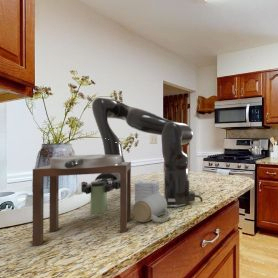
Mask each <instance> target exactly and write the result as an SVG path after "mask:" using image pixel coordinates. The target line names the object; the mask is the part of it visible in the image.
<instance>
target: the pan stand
mask: <svg viewBox="0 0 278 278" xmlns="http://www.w3.org/2000/svg"><path fill="white" fill-rule="evenodd" d="M102 173H120V189H119V190H120V191H119V224H120V225H119V233H127V231H128V222H130V221H131V219H132V162H131V161H125V162H122V156H121V155H105V154H80V155H79V154H78V155H77V154H76V155H63V156H54V157H50V158H49V165H44V166H40V167H36V168H32V247H36V246H41V245H42V244H43V243H44V205H45V203H44V200H45V199H44V195H45V194H44V186H45V185H44V179H45V178H46V177H49V233H51V232H52V233H53V232H57V231H58V230H59V225H60V224H59V219H60V218H59V217H60V216H59V212H60V211H59V201H60V200H59V198H60V197H59V196H60V195H59V191H60V190H59V186H60V185H59V184H60V183H59V182H60V181H59V177H61V176H62V177H63V176H65V177H66V176H81V175H82V176H83V175H100V174H102Z"/></svg>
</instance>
